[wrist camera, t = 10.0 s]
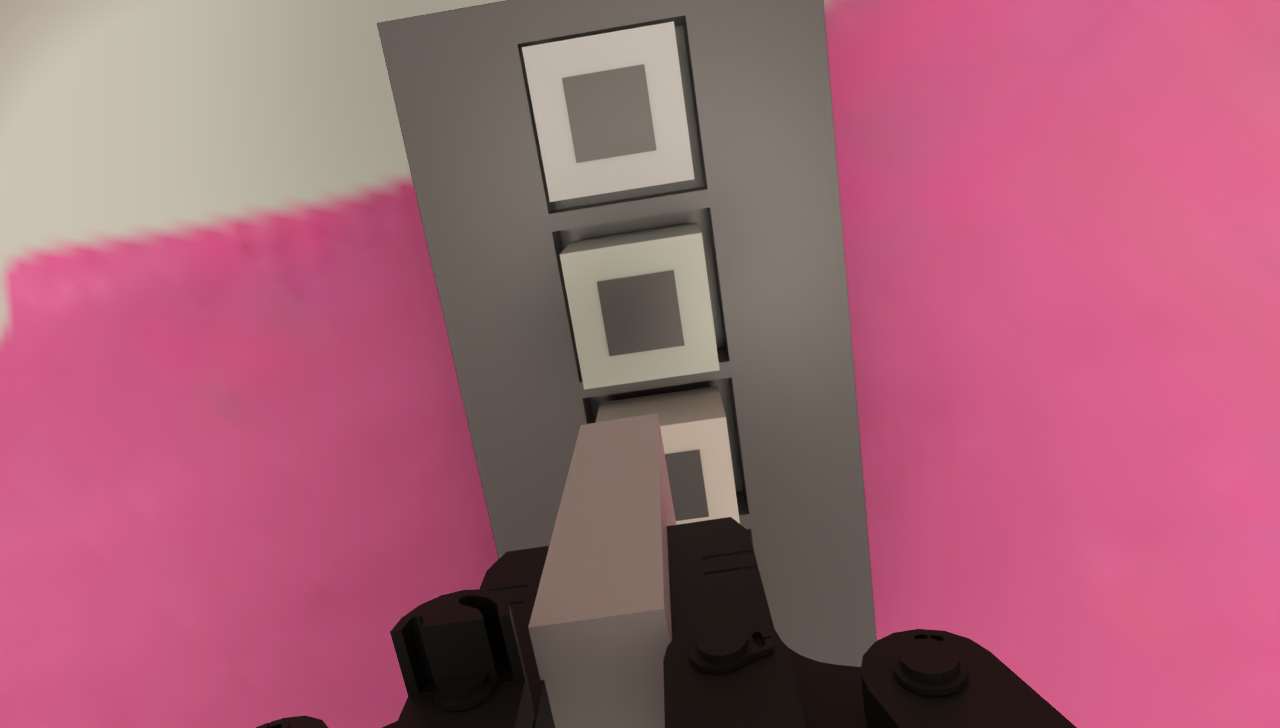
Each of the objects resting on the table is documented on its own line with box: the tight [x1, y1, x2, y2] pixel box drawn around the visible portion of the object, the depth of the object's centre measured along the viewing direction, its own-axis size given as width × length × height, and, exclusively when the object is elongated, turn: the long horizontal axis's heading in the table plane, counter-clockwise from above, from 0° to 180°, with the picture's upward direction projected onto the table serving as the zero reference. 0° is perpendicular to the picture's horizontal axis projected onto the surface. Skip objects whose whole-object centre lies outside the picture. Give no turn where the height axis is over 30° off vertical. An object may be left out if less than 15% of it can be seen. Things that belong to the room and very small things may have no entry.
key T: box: [595, 386, 740, 525], centre depth 27 cm, size 4×4×4 cm
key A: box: [560, 223, 720, 390], centre depth 26 cm, size 4×4×4 cm
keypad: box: [377, 0, 877, 667], centre depth 28 cm, size 14×26×2 cm, turn 9°
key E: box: [522, 21, 694, 202], centre depth 24 cm, size 4×4×4 cm
